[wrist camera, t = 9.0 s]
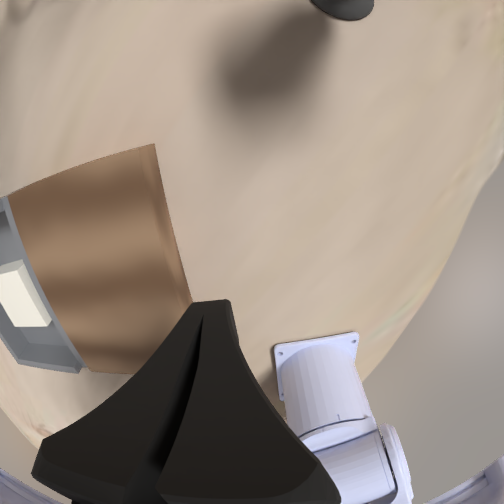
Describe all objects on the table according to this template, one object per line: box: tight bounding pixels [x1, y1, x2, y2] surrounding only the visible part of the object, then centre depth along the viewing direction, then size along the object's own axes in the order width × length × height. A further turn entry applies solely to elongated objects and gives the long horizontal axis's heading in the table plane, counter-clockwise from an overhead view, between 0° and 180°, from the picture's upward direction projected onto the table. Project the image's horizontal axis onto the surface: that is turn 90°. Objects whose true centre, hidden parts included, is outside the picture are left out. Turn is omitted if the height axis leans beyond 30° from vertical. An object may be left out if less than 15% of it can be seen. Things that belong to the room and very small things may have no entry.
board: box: [7, 144, 193, 374], centre depth 19 cm, size 18×12×3 cm, turn 7°
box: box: [0, 187, 88, 374], centre depth 19 cm, size 18×12×4 cm, turn 7°
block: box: [0, 259, 52, 327], centre depth 19 cm, size 6×6×2 cm
